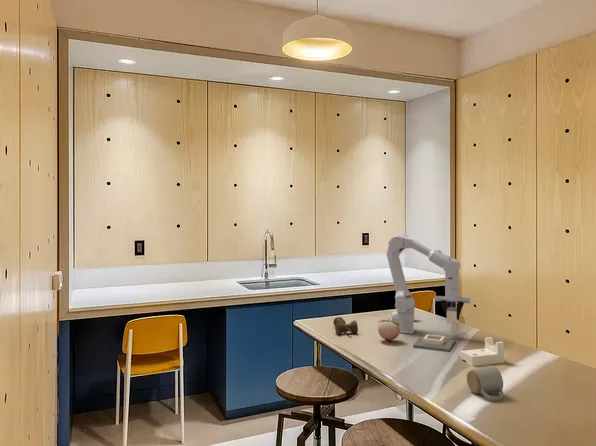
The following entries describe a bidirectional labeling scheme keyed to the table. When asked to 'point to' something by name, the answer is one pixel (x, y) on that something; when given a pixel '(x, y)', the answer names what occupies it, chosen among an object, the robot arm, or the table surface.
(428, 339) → the outlet plate
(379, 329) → the decorative fruit
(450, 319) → the block
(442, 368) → the table surface
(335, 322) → the kendama
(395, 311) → the robot arm
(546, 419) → the table surface
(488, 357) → the bracket
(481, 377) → the ceramic mug
